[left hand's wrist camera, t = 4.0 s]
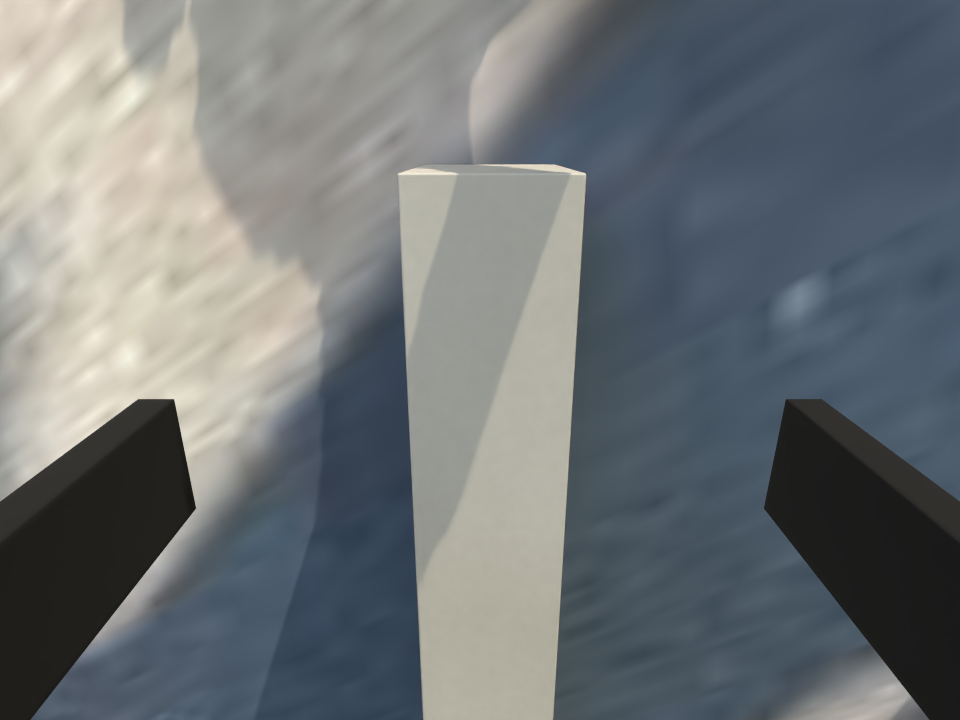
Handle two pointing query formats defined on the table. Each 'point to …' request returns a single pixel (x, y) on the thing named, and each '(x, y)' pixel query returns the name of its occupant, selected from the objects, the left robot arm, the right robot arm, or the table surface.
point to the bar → (490, 425)
